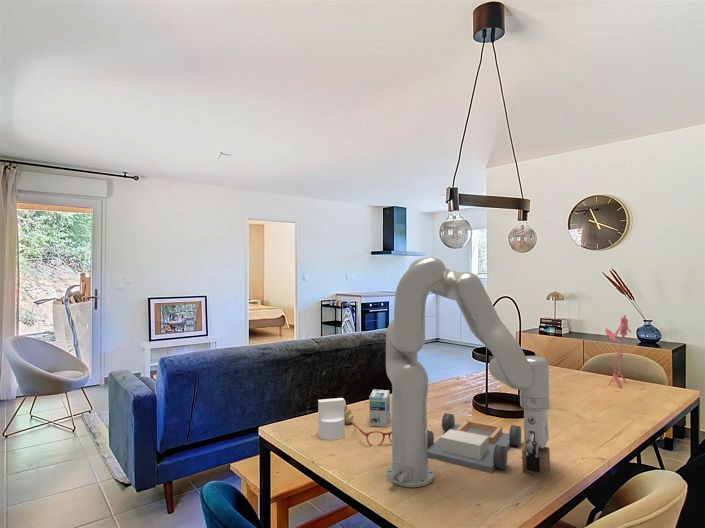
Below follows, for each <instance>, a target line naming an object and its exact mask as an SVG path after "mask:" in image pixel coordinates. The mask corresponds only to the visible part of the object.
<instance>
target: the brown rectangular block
mask: <svg viewBox="0 0 705 528" xmlns="http://www.w3.org/2000/svg"><path fill="white" fill-rule="evenodd" d="M535 445H537V444H536V443H535ZM533 449H535V452H536V448H533ZM526 453H527V445H526V444H525V445H524V447H523V448H522V451H521V455H522V456H521V458H522V459H521V460H522V463H521V464H522V473H525V474H530V475H533V476H537V477H542V478H547V477H548V475H549V473H550V470H551V461H550V460H551V458H550V455H551V453H550V447H549V446H548V447H547V446H545V447H544V448H543V449H542V448H541V447H539V451H538V457H539V462H540V472H539V473H537V472H533V471H528V470H527V465H526Z"/></svg>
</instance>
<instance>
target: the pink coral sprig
mask: <svg viewBox="0 0 705 528" xmlns="http://www.w3.org/2000/svg"><path fill="white" fill-rule="evenodd" d="M628 332H629V333H630V334H632V331H631V329H629V323H628V318H627V316H626V314H623V317H621V318H620V325H619V327H618V329H617V330H616V331H615V333H613V332H612V330H610V329H608V328H607V327H606V328H605V334H606V337H607V341H608V342H609V341H611V340H612V341H613V342H616V341H617V342H618V343H619V345H620V346H619V350H620V351H617V353H616V357H617V358H616V359H614V360H613V368H614V369H613V370H614V373H612V376H613V377H612V378H611V380H610V381H609V383H608V384H607V385H608V386H610V385H611V383H612V382H613V383H615V382H616V384H617V385H618V386H620V388H621V389H622V388H623V385H622V383H621V380H620V379H619V376H620V377H621V379H622V380H623V381H624V382H625V383H627V381H626V379H625V377H624V376H623V374H622V372H621V368H620V363H619V361H620V360H619V359H620V358H623V357H624V354H623V353H622V342H621V340H619V339H617V338H616V337H618V334H620V336H621V337H622V340H625V338H626V336H627V335H628ZM616 362H617V364H618V370H617V374H616V373H615V372H616ZM638 384H639V385H641V386H643V387H644V388H641V389H639V391H641V390H644V389H645V388H646V387H645V385H644V384H643V383H642V384H641V383H639V382H638ZM603 387H605V388H606V386H604V385H603Z"/></svg>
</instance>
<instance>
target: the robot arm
mask: <svg viewBox="0 0 705 528" xmlns="http://www.w3.org/2000/svg"><path fill="white" fill-rule="evenodd" d="M430 293H432V294H434V295H438V296H440V297H442V298H446V299H449V300H452V301H455V302H456V303H457V305H458V307H459V309H460V311H461V314H462V316H463V317H464V321H465V322H466V324H467V326H468V328H469V330H470V331H471V332H472V334H473V335H474V336H475V338H476V339H477V340H479V342H481V343H482V344H483V345H484V346H485V347H486V348H487V349H488V350H489V352H490V353H491V354H492V356H493V358H492V359H490V362H489V364H488V371H489V373H490V375H491V376H492V377H493V379H495V380H497V382H499V383H501V384H503V385H506V386H508V387H509V388H511V389H513V390H517V391H518V390H519V403H520V404H519V405H520V407H521V408H522V409H523V410H524V411H523V439H524V440H523V441H524V444H525V445H527V453H526V465H527V470H528V471H533V472H537V473H539V472H540V462H539V457H538V451H539V447H541V448H542V449H543V448H544V447H547V444H548V441H549V438H550V437H549V435H550V433H549V420H548V419H549V418H548V411H549V410H550V408H551V407H550V405H551V404H550V379H549V378H550V373H549V369H550V368H549V362H548V359H546V358H545V357H542V356H537V355H525V353H524V351H523V349H522V347H521V346H520V344H519V343H518V341H517V339H516V338H515V337H514V335H513V334H512V333H511V332H510V330H509V329H508V328H507V325H506V324H504V323H503V321H502V319H501V318H500V317H499V315H498V313H497V311H496V308H495V307H494V305H493V303H492V301H491V299H490V297H489V294H488V292H487V290H486V288H485V286H484V284H483V283H482V280H481V279H480V278H479V277H478V275H476V274H475V273H473V272H468V271H467V272H466V271H465V272H464V271H463V272H462V271H461V272H460V271H459V272H458V271H456V270H451V269H449V268H447V267H446V266H445V263H444V262H443V261H442V260H441V259H439V258H438V257H434V256H428V257H427V256H426V257H423V258H419V259H416V260H414V261H413V262H412V263H410V265H409V267H408V269H407V270H406V271H405V273H404V274H403V275H402V277H401V278H400V279H399V282H398V283H397V286H396V290H395V295H394V306H393V319H392V320H391V321H390V322H389V324H388V327H387V328H386V329H387V330H386V336H385V370H386V371H385V372H386V375H387V378H388V379H389V381H390V383H391V389H392V392H391V431H392V433H391V441H392V443H391V450H392V451H391V459H392V460H391V461H392V462H391V463H392V465H390V466H389V467H388V468H387V469H386V476H385V477H386V481H387V482H389V483H393V484H394V483H395V485H398V486H400V487H406V488H421V487H425V486H427V485H429V484H432V483H433V481H434V479H435V478H434V477H435V476H434V471H433V469H432V468H430V467H429V466H428V465H429V461H428V458H429V457H428V452H427V430H428V416H427V414H428V411H427V403H428V392H429V376H428V373H427V371H426V368H425V367H424V365H423V364H422V363H421V362H420V361H418V353H419V352H420V351H421V350H422V349H423V347H424V346H425V341H426V304H427V298H428V296H429V294H430ZM535 444H537V445H535ZM533 448H536V452H535V449H533Z"/></svg>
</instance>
